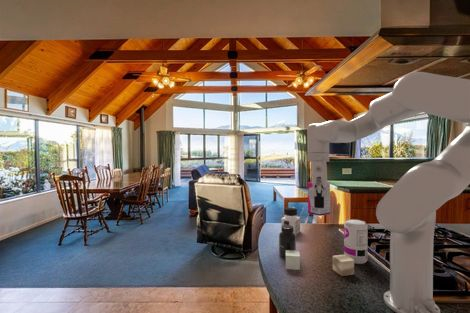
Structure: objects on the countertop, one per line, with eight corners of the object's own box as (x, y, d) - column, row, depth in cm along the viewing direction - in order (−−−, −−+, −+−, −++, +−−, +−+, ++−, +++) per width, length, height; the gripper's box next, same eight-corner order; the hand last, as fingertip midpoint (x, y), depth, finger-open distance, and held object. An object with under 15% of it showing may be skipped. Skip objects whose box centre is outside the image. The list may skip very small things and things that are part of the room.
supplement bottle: (276, 257, 100) (276, 227, 100) (281, 250, 106) (281, 223, 106) (293, 260, 97) (293, 230, 97) (297, 253, 103) (297, 225, 103)
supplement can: (344, 262, 94) (344, 223, 94) (343, 254, 102) (343, 218, 102) (368, 266, 91) (368, 225, 91) (365, 257, 99) (365, 219, 99)
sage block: (299, 270, 89) (299, 256, 89) (285, 268, 90) (285, 255, 90) (299, 263, 94) (299, 251, 94) (285, 262, 95) (285, 250, 95)
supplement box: (330, 213, 90) (330, 182, 89) (319, 216, 87) (318, 183, 87) (318, 210, 95) (318, 180, 95) (307, 212, 92) (306, 182, 92)
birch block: (354, 274, 86) (354, 260, 86) (341, 276, 85) (341, 261, 84) (344, 267, 91) (344, 254, 90) (332, 269, 89) (332, 255, 89)
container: (295, 235, 125) (295, 210, 125) (281, 233, 129) (280, 208, 129) (300, 231, 132) (300, 207, 131) (286, 229, 136) (286, 205, 136)
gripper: (331, 158, 81) (331, 211, 81) (327, 156, 98) (328, 201, 98) (307, 158, 83) (307, 210, 84) (307, 157, 100) (308, 200, 100)
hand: (318, 204), depth 91 cm, fingers closed on supplement box, 8 cm apart
